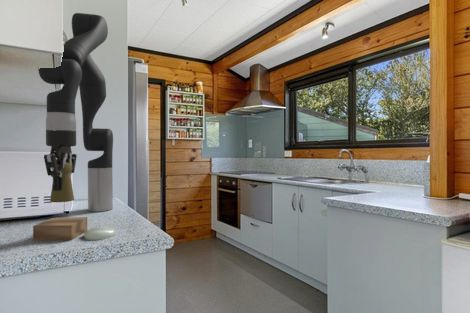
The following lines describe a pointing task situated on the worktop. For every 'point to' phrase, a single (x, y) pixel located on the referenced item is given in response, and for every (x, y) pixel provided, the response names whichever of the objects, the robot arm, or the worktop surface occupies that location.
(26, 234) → the worktop surface
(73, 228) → the walnut plinth
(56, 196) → the olive stamp handle
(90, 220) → the worktop surface
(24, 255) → the worktop surface
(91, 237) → the white domed disc
